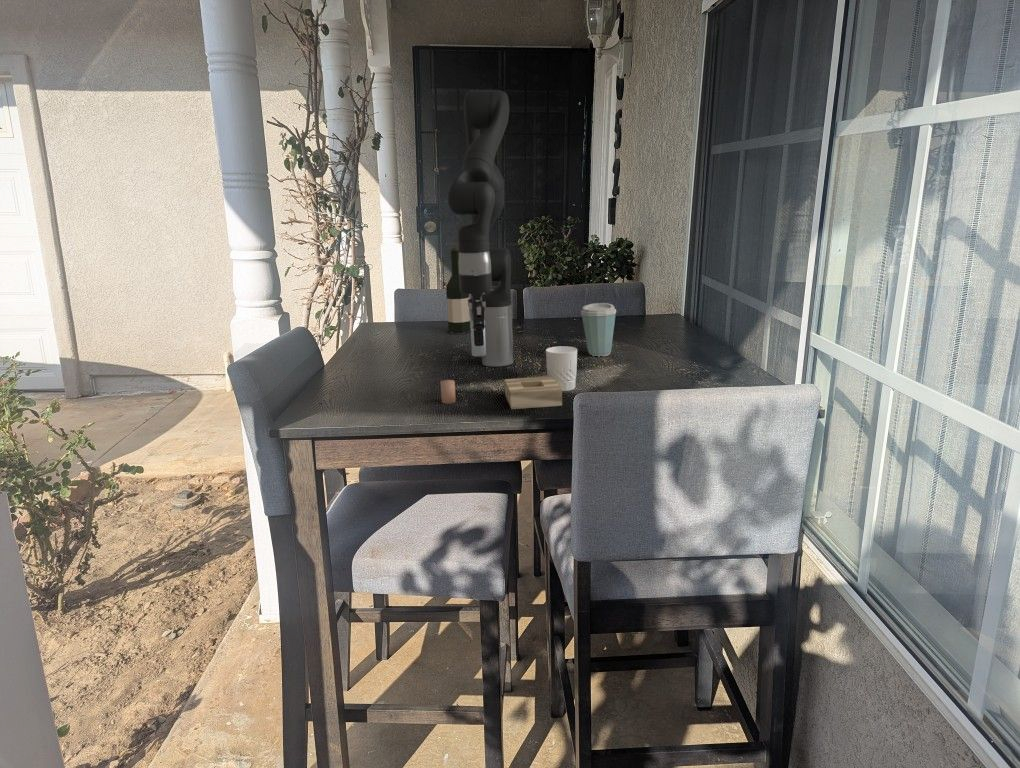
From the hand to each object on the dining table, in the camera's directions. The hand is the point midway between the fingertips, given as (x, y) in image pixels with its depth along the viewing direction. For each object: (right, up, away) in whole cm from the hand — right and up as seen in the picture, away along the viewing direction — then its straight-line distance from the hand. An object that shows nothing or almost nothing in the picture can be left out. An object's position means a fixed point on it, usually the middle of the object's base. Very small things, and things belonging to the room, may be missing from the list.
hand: (478, 343), depth 170 cm
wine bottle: (-11, +9, +88) cm, 89 cm away
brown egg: (-7, -14, +3) cm, 16 cm away
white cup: (+21, -11, +11) cm, 26 cm away
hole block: (+13, -14, +1) cm, 19 cm away
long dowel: (0, -3, +1) cm, 3 cm away
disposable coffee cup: (+34, -1, +45) cm, 57 cm away
